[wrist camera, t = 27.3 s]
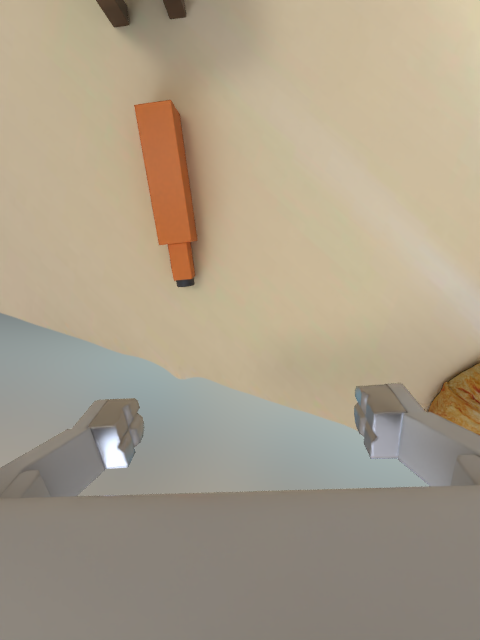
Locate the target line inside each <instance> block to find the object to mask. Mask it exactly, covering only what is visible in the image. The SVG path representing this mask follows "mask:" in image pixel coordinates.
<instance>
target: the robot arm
mask: <svg viewBox="0 0 480 640" xmlns="http://www.w3.org/2000/svg"><path fill="white" fill-rule="evenodd" d="M355 397H356V399H357V401H358V403H357V404H356V405H355V406H354V416H355V423H356V426H357V429H358V431H359V433H360V434H361V435H363V436H364V445H365V447H366V449H367V451H368V453H369V455H370V458H371V459H378V458H379V459H381V458H382V459H385V458H388V459H389V458H398V460H399V461H400V462H401V463H403V464H404V465H405V466H406V467H407V468H409V469H410V470H411V471H412V472H414V473H415V474H416V475H417V476H418V477H420V478H421V479H422V480H423V481H424V482H426V483H427V484H428V485H429V487H396V488H362V489H361V488H360V489H322V490H284V491H249V492H216V493H215V492H214V493H179V494H145V495H143V494H142V495H107V496H106V495H105V496H77V495H78V494H79V493H81V492H82V491H83V490H84V489H85V488H86V487H87V486H88V485H89V484H90V483H91V482H92V481H94V480H95V479H96V478H97V477H98V476H99V475H100V474H101V473H102V472H103V471H104V470H105V469H109V468H125V467H129V464H130V463H131V460H132V458H133V456H134V454H135V449H134V447H135V446H137V445H138V444H139V443H140V442H141V440H142V437H143V433H144V421H143V418H142V416H141V415H139V414H138V413H137V412H138V410H139V408H140V407H139V404H138V401H137V400H136V399H135V398H133V399H110V400H109V399H105V400H97V401H94V402H93V404H92V405H91V406H90V407H89V409H88V410H87V411H86V412H85V413H84V415H83V416H82V417H81V418H80V420H79V421H78V422H77V423H76V424H75V426H74V427H73V428H72V429H67V430H65V431H64V432H62V433H60V434H58V435H57V436H55V437H53V438H51V439H50V440H48V441H46V442H45V443H43V444H41V445H39V446H37V447H36V448H34V449H32V450H31V451H29V452H27V453H25V454H24V455H22V456H20V457H18V458H17V459H15V460H13V461H12V462H10V463H8V464H6V465H5V466H3V467H1V468H0V640H480V435H478V434H476V433H474V432H472V431H469V430H467V429H465V428H463V427H461V426H459V425H457V424H455V423H453V422H451V421H449V420H447V419H444V418H442V417H440V416H438V415H436V414H434V413H432V412H425V410H424V409H423V408H422V407H421V406H420V404H419V403H418V402H417V401H416V400H415V398H414V397H413V396H412V395H411V393H410V392H409V391H408V390H407V389H406V387H405V386H404V385H403V384H402V383H391V384H384V385H369V386H356V389H355Z"/></svg>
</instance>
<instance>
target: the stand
mask: <svg viewBox="0 0 480 640" xmlns="http://www.w3.org/2000/svg"><path fill="white" fill-rule="evenodd" d="M96 1H97V3H98V4H99V6H100V7H101V9H102V10H103V12H104V13H105V15H106V16H107V18H108V19H109V21H110V22H111V24H112V25H113V26H114V27H119V26H126V25H130V24H129V18H128V11H127V5H126V3H125V1H124V0H96ZM163 2H164V4H165V7H166V9H167V12H168V15H169V17H170V19H176V18H183V17H186V10H185V1H184V0H163Z"/></svg>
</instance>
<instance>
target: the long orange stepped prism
mask: <svg viewBox="0 0 480 640" xmlns="http://www.w3.org/2000/svg"><path fill="white" fill-rule="evenodd" d="M134 107H135V112H136V118H137V123H138V129H139V135H140V140H141V146H142V152H143V157H144V163H145V168H146V174H147V180H148V185H149V191H150V196H151V202H152V208H153V213H154V219H155V225H156V230H157V236H158V241H159V245H165V244H168V249H169V255H170V261H171V267H172V273H173V278H174V281H176V282H177V287H186V286H191V285H194V278H193V277H195V271H194V264H193V257H192V251H191V244H190V242H192V241H197V234H196V227H195V220H194V213H193V206H192V199H191V191H190V184H189V177H188V170H187V163H186V156H185V149H184V142H183V135H182V128H181V121H180V114H179V113H178V111H177V109H176V108H175V106H174V104H173V103H172V101H171V100H166V101H159V102H152V103H145V104H138V105H134Z"/></svg>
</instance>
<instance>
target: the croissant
mask: <svg viewBox="0 0 480 640" xmlns="http://www.w3.org/2000/svg"><path fill="white" fill-rule="evenodd" d="M428 412H432V413H434V414H436V415H438V416H440V417H442V418H444V419H447V420H449V421H451V422H453V423H455V424H457V425H459V426H461V427H463V428H465V429H467V430H469V431H472V432H474V433H476V434H478V435H480V363H479V364H477V365H474V367H472V368H470V369H468V370H466V371H463V372H462V373H460V374H459V375H458V376H456V377H455V378H453V379H452V380H450V381H449V382H445V383H444V384H443V387H442V389H441V391H440V393H439V394H438V395H437V396H436V398H434V400H433V402H432V404H431V406H430V408H429V411H428Z"/></svg>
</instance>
